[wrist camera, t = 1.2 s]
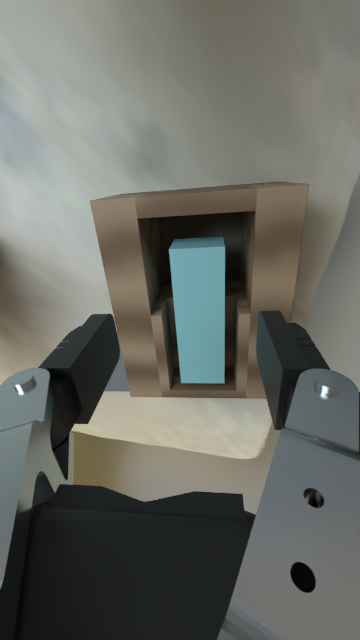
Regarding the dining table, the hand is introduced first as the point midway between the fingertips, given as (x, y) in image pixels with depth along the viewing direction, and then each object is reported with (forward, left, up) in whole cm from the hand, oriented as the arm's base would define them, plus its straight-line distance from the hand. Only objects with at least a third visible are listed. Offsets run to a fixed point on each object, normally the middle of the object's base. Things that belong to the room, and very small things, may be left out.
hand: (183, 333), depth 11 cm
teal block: (+7, 0, -17) cm, 18 cm away
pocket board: (+6, 0, -22) cm, 22 cm away
